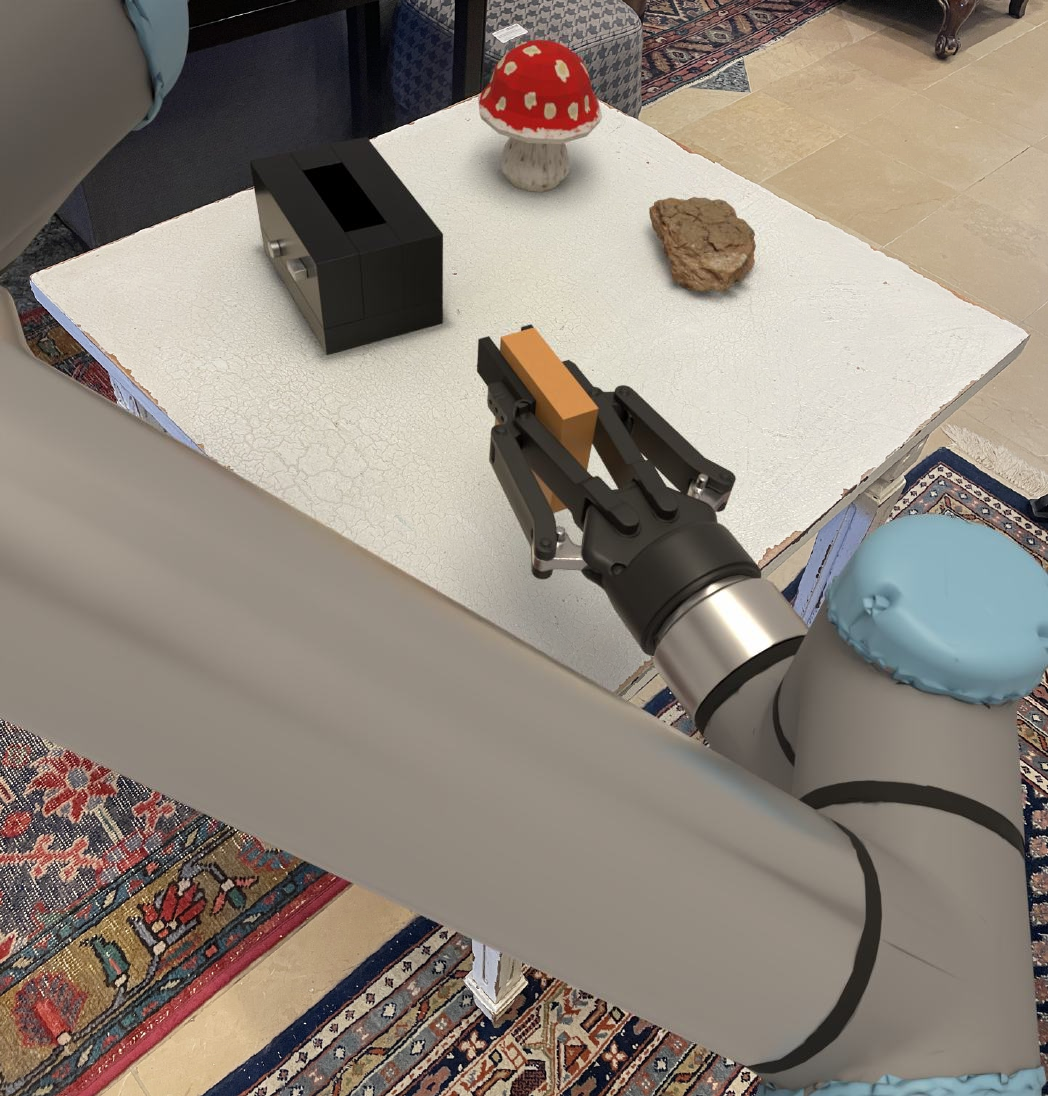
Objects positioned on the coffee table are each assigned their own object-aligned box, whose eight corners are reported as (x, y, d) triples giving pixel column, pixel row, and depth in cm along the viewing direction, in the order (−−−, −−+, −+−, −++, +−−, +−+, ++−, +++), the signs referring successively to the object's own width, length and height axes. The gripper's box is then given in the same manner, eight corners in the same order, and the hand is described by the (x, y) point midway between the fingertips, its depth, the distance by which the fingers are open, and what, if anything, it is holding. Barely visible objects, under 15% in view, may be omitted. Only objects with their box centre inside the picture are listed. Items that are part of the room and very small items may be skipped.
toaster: (314, 358, 90) (302, 267, 82) (252, 252, 99) (236, 162, 91) (442, 323, 94) (443, 233, 86) (372, 225, 104) (366, 136, 96)
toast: (549, 515, 62) (563, 419, 55) (493, 434, 66) (500, 336, 59) (581, 503, 63) (598, 408, 56) (524, 424, 67) (534, 327, 60)
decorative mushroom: (488, 138, 116) (493, 7, 105) (601, 157, 116) (619, 26, 104) (462, 199, 108) (464, 63, 96) (583, 220, 107) (601, 85, 95)
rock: (768, 302, 100) (782, 261, 96) (667, 303, 99) (676, 261, 95) (737, 229, 108) (748, 188, 104) (643, 229, 107) (651, 188, 103)
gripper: (572, 710, 51) (395, 422, 63) (801, 608, 56) (597, 361, 68) (590, 631, 45) (391, 331, 57) (844, 526, 50) (612, 272, 62)
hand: (504, 348), depth 63 cm, fingers closed on toast, 2 cm apart
